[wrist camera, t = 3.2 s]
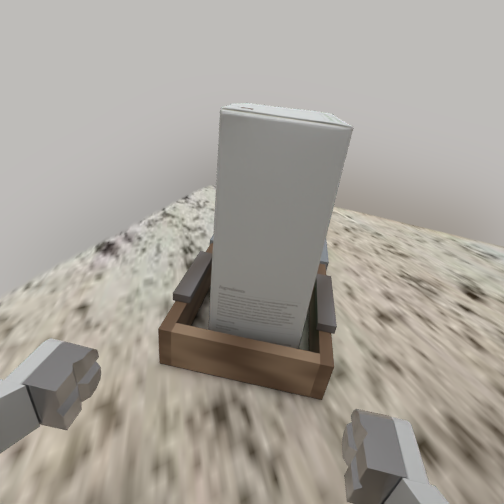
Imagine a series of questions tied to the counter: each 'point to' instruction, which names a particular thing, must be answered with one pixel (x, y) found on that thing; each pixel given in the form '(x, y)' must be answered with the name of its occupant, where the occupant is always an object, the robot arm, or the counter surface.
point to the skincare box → (272, 217)
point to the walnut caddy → (248, 340)
